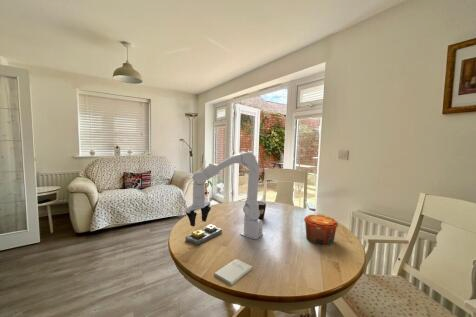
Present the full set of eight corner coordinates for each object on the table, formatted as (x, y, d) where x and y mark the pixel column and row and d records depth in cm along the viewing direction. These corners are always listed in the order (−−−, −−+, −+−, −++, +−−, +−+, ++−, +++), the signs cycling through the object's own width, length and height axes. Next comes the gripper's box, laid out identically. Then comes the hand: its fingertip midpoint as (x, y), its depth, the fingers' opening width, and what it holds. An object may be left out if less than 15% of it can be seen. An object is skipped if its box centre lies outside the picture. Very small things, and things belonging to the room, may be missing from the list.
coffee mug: (265, 215, 138) (266, 201, 137) (265, 220, 130) (266, 205, 129) (248, 214, 139) (248, 200, 138) (247, 219, 131) (247, 204, 130)
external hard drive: (213, 276, 74) (235, 261, 84) (231, 287, 69) (252, 270, 79) (214, 272, 74) (235, 258, 84) (231, 282, 69) (252, 265, 79)
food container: (333, 235, 111) (334, 216, 110) (339, 250, 95) (341, 227, 95) (302, 231, 115) (303, 212, 114) (303, 244, 100) (305, 222, 99)
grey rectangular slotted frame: (221, 232, 110) (222, 229, 110) (197, 245, 95) (197, 241, 95) (210, 228, 114) (210, 225, 114) (185, 240, 100) (185, 236, 100)
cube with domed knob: (215, 233, 109) (216, 225, 109) (210, 236, 106) (211, 228, 105) (210, 231, 111) (210, 224, 111) (205, 234, 108) (205, 226, 108)
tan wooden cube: (203, 239, 102) (204, 231, 101) (198, 242, 98) (198, 234, 98) (198, 237, 104) (198, 229, 104) (192, 240, 101) (192, 232, 100)
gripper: (203, 192, 108) (203, 217, 109) (181, 197, 96) (181, 226, 97) (213, 194, 104) (213, 220, 105) (191, 200, 92) (191, 229, 93)
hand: (198, 223), depth 101 cm, fingers open, 7 cm apart
